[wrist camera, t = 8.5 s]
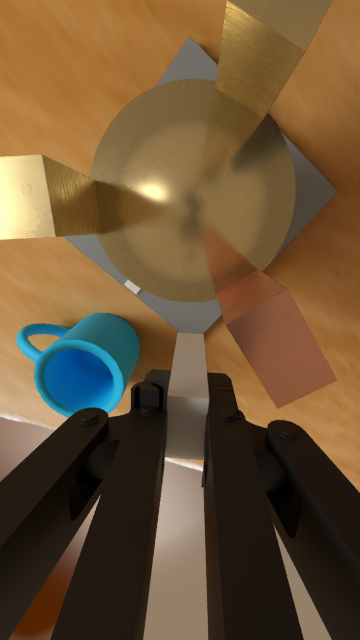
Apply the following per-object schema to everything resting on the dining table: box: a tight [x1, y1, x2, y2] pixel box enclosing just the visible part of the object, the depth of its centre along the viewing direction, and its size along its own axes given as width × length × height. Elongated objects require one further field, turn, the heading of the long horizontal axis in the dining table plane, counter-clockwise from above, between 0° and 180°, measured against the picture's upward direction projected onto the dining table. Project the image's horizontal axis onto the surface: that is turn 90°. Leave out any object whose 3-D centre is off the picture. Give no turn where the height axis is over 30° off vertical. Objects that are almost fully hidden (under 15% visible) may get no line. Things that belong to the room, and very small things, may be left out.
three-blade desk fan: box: [0, 0, 337, 409], centre depth 16 cm, size 17×20×9 cm
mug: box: [17, 313, 140, 417], centre depth 29 cm, size 12×8×8 cm
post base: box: [63, 36, 338, 334], centre depth 24 cm, size 20×20×9 cm
